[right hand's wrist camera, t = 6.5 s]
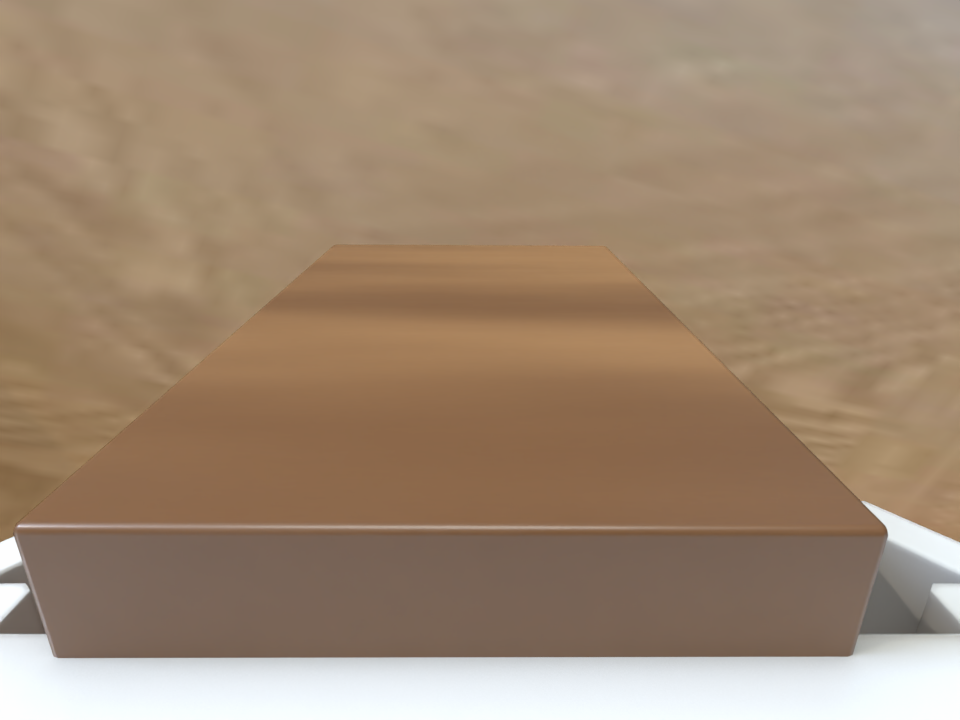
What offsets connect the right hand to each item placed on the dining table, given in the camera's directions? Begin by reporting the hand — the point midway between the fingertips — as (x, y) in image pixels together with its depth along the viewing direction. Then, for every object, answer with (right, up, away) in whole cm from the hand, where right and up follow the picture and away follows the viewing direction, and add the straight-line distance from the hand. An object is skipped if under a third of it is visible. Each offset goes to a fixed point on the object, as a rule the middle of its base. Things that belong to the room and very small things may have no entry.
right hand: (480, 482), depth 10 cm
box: (0, -5, +8) cm, 9 cm away
